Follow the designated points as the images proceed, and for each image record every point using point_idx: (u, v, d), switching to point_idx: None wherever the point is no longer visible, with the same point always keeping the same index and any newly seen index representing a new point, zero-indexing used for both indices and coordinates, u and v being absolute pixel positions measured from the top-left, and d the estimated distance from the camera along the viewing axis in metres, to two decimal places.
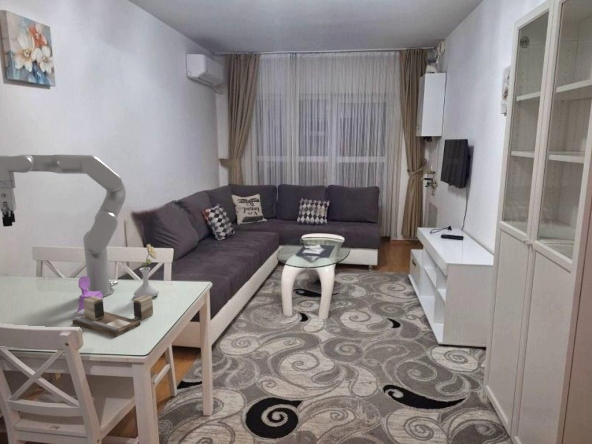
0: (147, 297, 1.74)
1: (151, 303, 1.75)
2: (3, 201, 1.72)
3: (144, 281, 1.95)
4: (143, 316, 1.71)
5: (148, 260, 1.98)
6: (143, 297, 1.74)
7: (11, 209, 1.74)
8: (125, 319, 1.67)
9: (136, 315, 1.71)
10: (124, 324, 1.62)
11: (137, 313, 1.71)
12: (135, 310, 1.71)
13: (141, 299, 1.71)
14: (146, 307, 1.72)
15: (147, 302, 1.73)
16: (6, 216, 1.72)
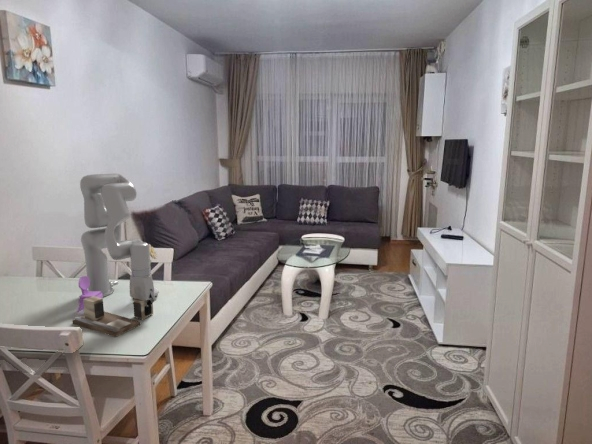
0: None
1: None
2: None
3: None
4: (143, 316, 1.71)
5: None
6: None
7: None
8: (125, 319, 1.67)
9: (136, 315, 1.71)
10: (124, 324, 1.62)
11: (137, 313, 1.71)
12: (135, 310, 1.71)
13: None
14: None
15: None
16: None
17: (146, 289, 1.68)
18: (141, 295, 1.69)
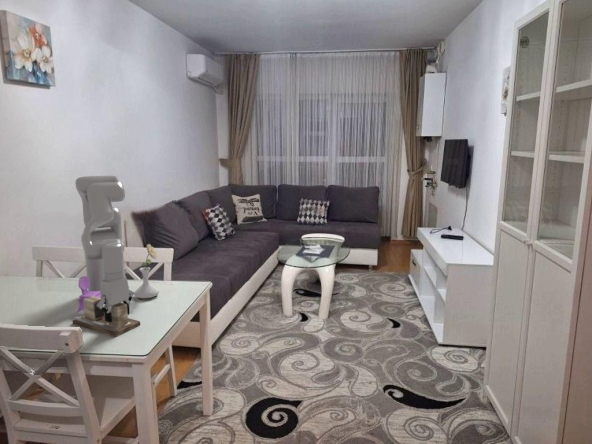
0: (117, 306, 1.60)
1: (116, 314, 1.59)
2: None
3: (144, 281, 1.95)
4: None
5: (148, 260, 1.98)
6: (119, 304, 1.62)
7: None
8: None
9: None
10: None
11: None
12: None
13: None
14: (112, 314, 1.60)
15: (112, 310, 1.60)
16: None
17: (101, 292, 1.57)
18: None
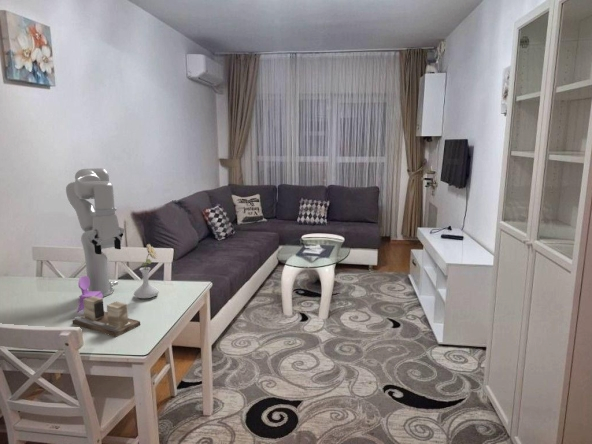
0: (117, 306, 1.60)
1: (116, 314, 1.59)
2: None
3: (144, 281, 1.95)
4: (109, 321, 1.62)
5: (148, 260, 1.98)
6: (119, 304, 1.62)
7: None
8: None
9: None
10: None
11: None
12: None
13: (112, 304, 1.61)
14: (112, 314, 1.60)
15: (112, 310, 1.60)
16: None
17: (92, 227, 1.72)
18: None
